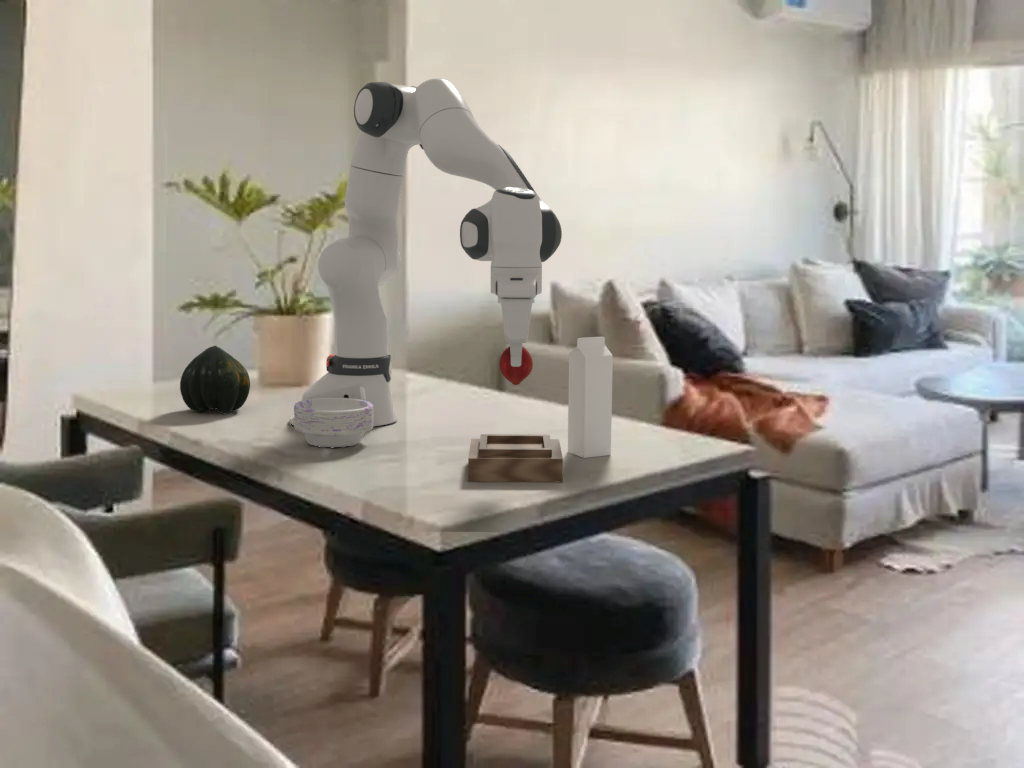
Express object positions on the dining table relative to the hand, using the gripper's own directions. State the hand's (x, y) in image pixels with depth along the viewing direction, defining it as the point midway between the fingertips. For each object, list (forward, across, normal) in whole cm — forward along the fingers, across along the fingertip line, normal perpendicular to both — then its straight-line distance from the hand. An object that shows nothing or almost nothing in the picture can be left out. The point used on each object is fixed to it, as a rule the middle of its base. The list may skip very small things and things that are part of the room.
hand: (515, 362), depth 206 cm
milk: (+19, -14, +14) cm, 28 cm away
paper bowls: (+19, -22, -35) cm, 46 cm away
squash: (+19, -55, -66) cm, 88 cm away
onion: (+4, 0, 0) cm, 4 cm away
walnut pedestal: (+19, 0, 0) cm, 19 cm away
